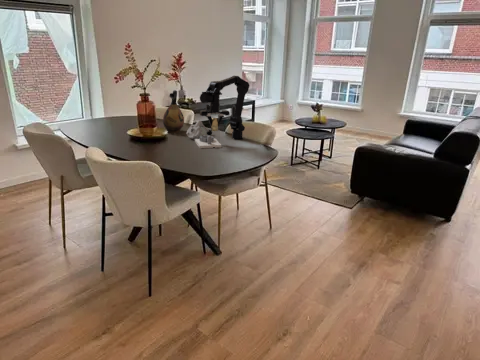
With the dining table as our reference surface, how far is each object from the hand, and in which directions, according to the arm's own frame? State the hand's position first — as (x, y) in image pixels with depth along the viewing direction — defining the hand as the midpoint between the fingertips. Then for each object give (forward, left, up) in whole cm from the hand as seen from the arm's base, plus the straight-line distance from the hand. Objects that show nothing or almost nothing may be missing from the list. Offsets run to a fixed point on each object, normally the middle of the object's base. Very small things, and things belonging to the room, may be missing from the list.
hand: (214, 126), depth 224 cm
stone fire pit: (+5, +2, -11) cm, 13 cm away
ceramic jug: (+22, -39, -12) cm, 46 cm away
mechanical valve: (+6, -19, -12) cm, 23 cm away
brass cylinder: (0, 0, -3) cm, 3 cm away
